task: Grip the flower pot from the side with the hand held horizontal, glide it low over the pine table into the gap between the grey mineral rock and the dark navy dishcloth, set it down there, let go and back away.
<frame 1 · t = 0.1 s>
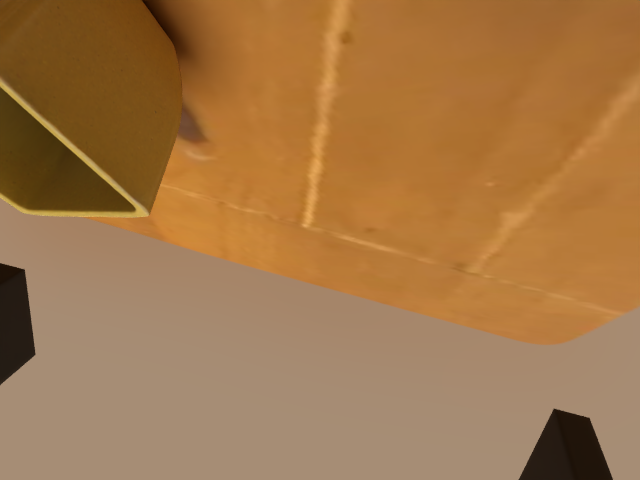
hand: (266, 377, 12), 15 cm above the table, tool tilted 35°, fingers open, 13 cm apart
flower pot: (108, 9, 24), on the table
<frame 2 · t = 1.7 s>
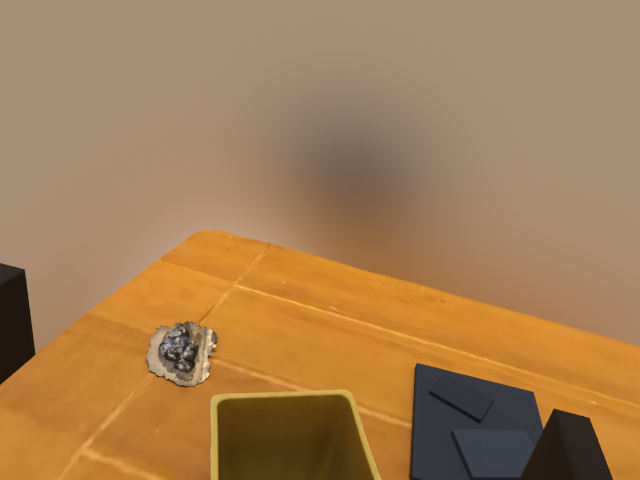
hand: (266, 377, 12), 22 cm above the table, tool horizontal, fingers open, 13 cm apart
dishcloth: (477, 434, 41), on the table
grey mineral rock: (185, 357, 45), on the table
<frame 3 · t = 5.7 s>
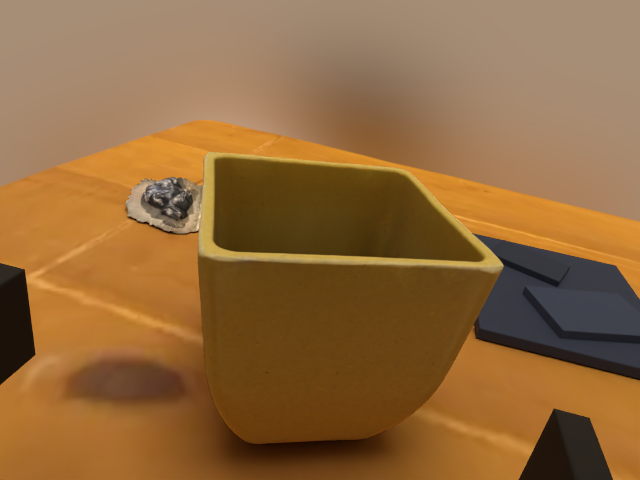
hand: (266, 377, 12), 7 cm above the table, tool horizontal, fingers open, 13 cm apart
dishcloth: (555, 300, 32), on the table
flower pot: (297, 397, 21), on the table
grey mineral rock: (176, 211, 35), on the table
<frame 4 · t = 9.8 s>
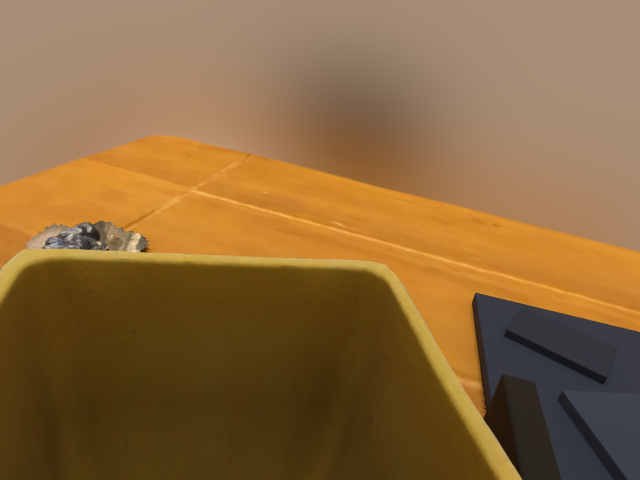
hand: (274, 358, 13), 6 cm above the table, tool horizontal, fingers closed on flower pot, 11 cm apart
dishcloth: (600, 404, 23), on the table
grey mineral rock: (87, 271, 26), on the table
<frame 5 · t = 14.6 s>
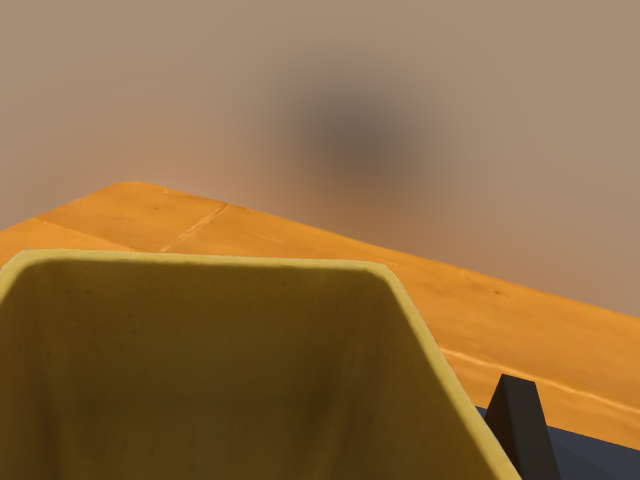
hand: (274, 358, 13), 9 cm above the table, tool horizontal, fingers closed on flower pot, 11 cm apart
when the fingers open (6 cm above the table, at t = 19.7 s): flower pot stays where it is, on the table.
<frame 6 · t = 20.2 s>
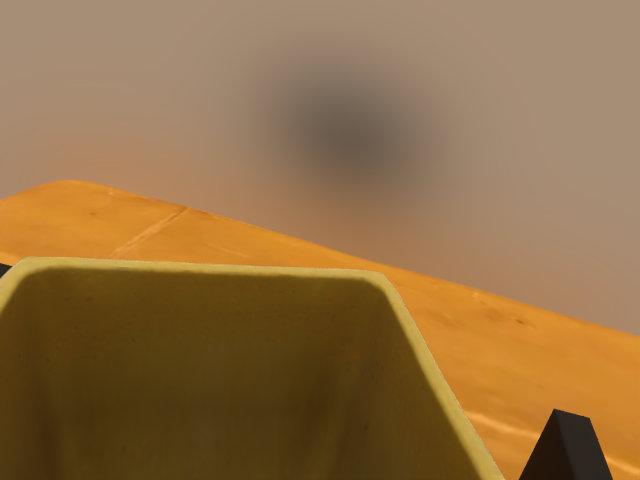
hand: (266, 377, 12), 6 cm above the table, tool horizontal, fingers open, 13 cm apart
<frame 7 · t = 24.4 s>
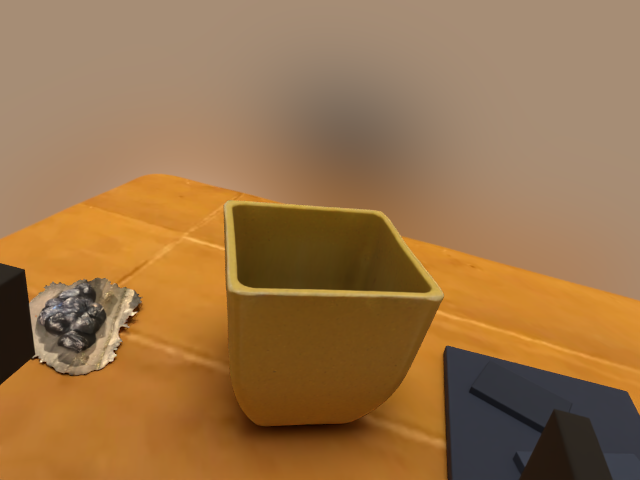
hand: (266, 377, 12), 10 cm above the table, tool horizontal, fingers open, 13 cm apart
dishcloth: (554, 460, 25), on the table
flower pot: (295, 392, 27), on the table
grey mineral rock: (84, 330, 28), on the table
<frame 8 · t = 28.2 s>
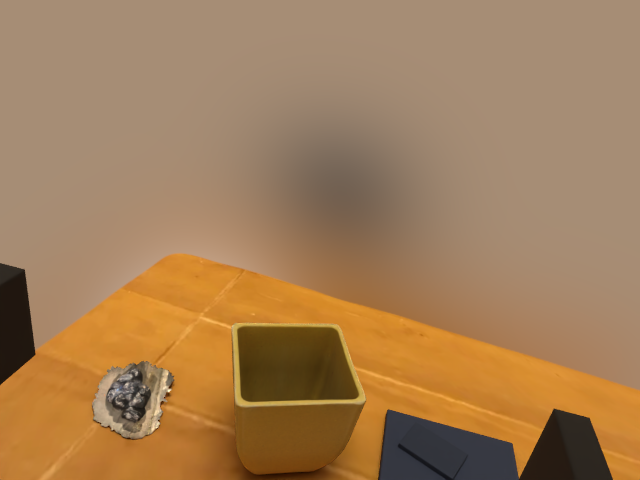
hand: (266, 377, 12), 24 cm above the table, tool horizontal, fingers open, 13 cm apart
flower pot: (279, 447, 40), on the table
grey mineral rock: (136, 403, 41), on the table
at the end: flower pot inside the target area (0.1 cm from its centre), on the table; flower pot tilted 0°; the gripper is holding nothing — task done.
